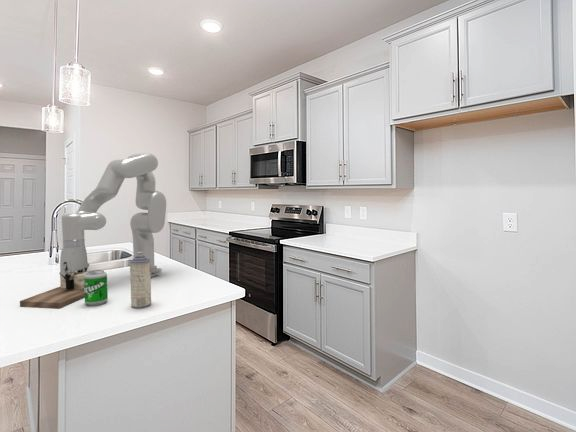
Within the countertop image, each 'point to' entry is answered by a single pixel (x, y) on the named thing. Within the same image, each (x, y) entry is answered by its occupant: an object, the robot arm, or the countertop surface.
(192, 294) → the countertop surface
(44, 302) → the board
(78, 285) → the block
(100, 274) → the soda can
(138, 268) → the aerosol can
